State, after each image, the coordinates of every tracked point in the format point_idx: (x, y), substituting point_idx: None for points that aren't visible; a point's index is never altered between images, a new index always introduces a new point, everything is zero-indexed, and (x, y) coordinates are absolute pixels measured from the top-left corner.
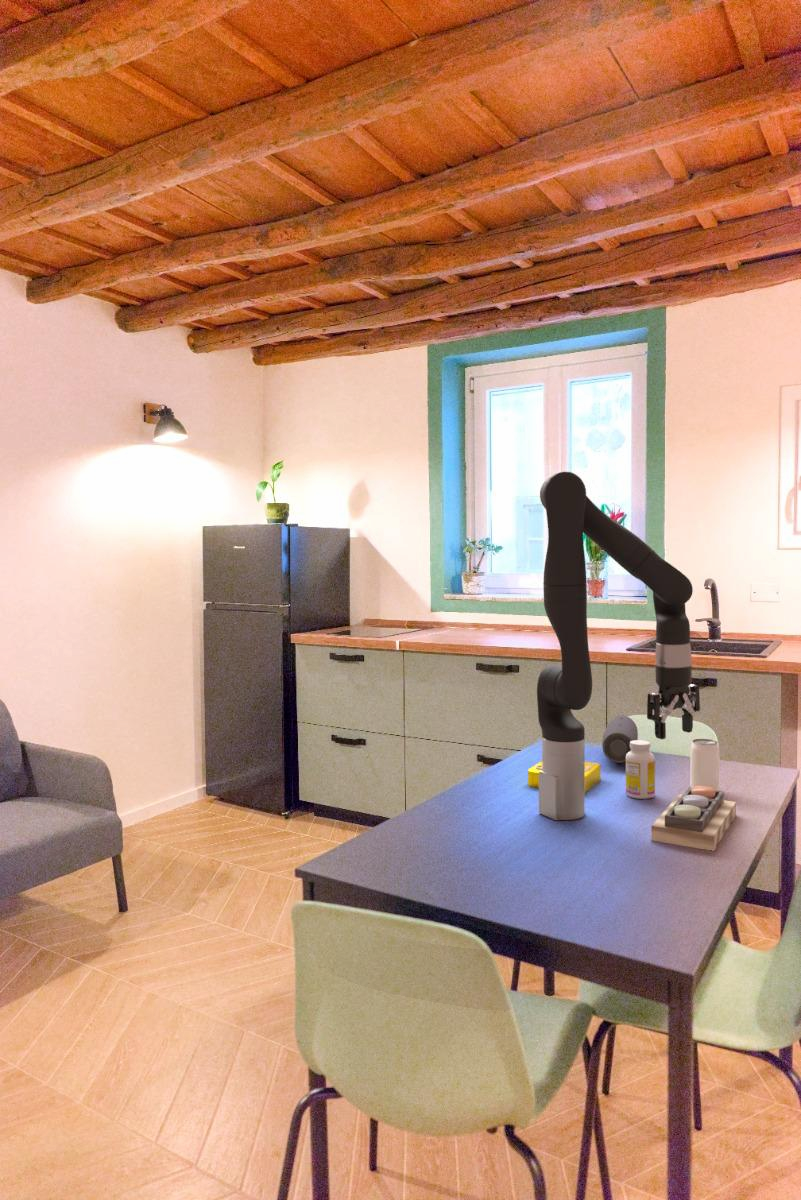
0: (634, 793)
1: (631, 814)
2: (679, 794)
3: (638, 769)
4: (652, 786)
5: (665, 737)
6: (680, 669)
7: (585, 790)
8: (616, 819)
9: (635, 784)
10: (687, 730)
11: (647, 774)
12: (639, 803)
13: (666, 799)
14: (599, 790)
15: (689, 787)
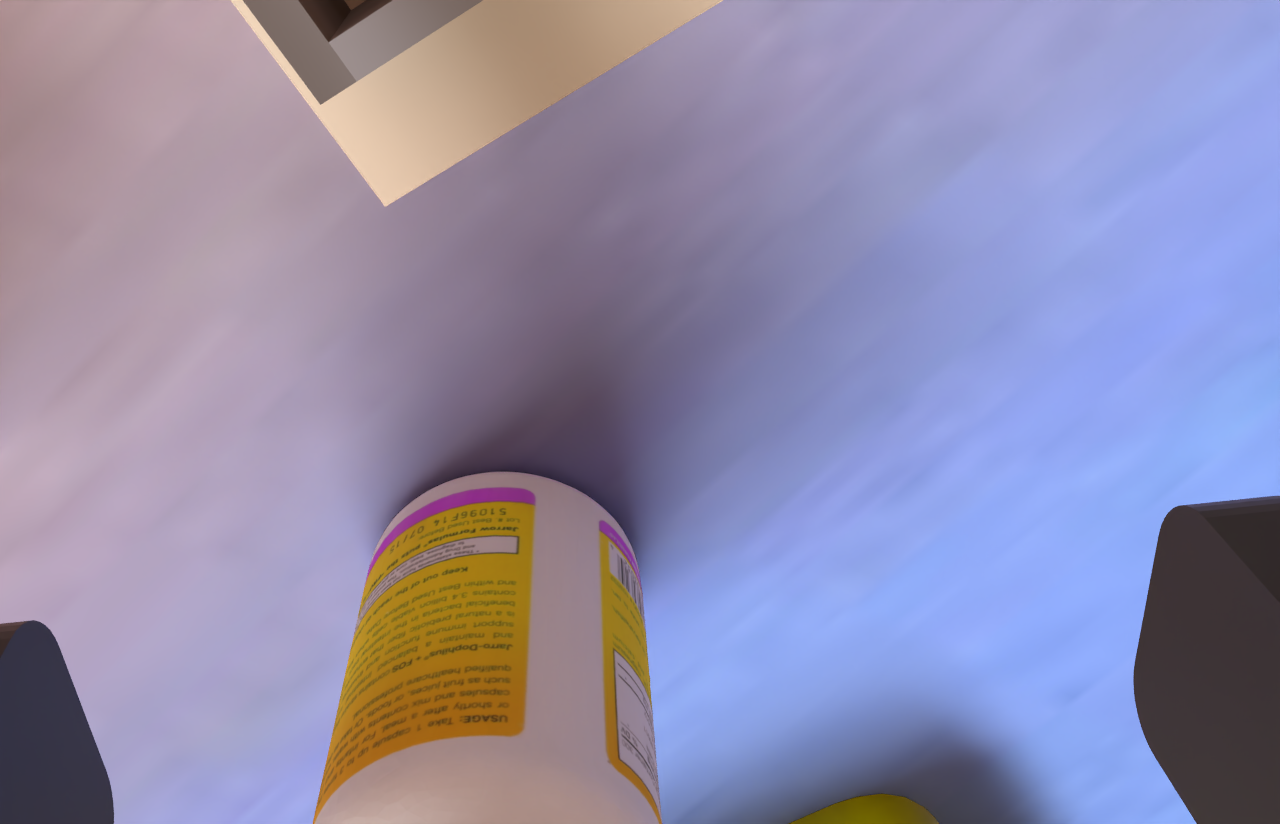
0: (630, 559)
1: (1013, 220)
2: (400, 193)
3: (619, 714)
4: (459, 537)
5: (1200, 513)
6: None
7: (850, 811)
8: (1255, 179)
9: (630, 613)
10: (48, 714)
11: (527, 631)
12: (684, 419)
13: (357, 390)
14: (716, 789)
15: (341, 88)
